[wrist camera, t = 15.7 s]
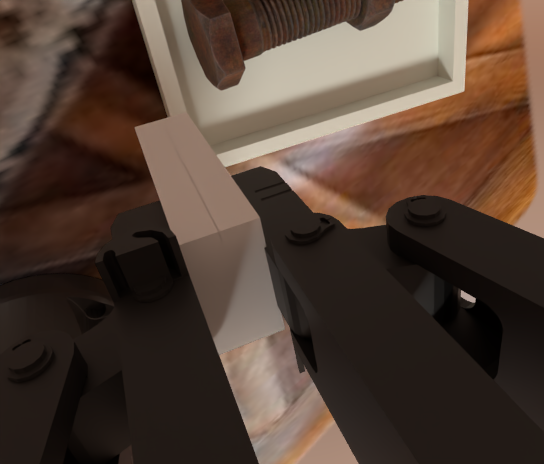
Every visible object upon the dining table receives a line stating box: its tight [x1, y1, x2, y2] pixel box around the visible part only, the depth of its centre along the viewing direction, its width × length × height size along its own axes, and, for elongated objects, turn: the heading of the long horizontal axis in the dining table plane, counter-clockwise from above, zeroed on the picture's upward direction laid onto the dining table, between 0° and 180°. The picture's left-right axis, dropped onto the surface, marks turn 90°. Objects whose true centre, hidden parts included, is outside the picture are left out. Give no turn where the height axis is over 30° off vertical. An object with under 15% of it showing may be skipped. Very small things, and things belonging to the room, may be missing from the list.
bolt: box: [181, 0, 403, 91], centre depth 29 cm, size 6×5×15 cm
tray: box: [132, 0, 468, 167], centre depth 30 cm, size 16×21×3 cm
